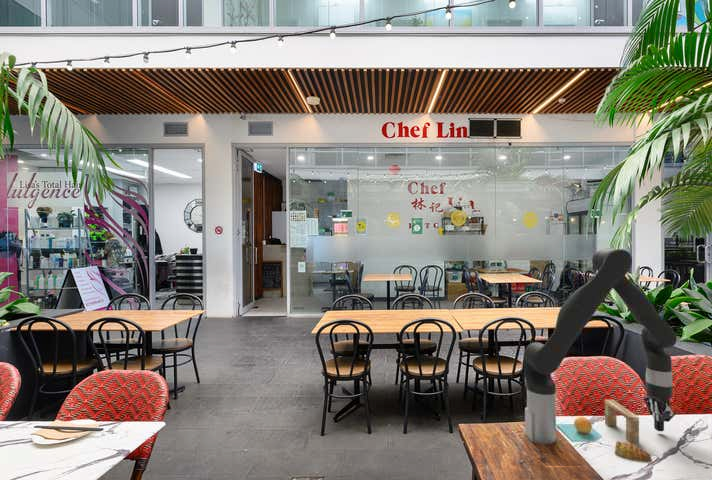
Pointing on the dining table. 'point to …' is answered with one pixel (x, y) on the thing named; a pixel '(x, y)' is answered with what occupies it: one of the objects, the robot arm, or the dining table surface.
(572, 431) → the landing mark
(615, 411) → the bridge
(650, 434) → the dining table surface
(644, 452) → the pastry
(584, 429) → the ball
